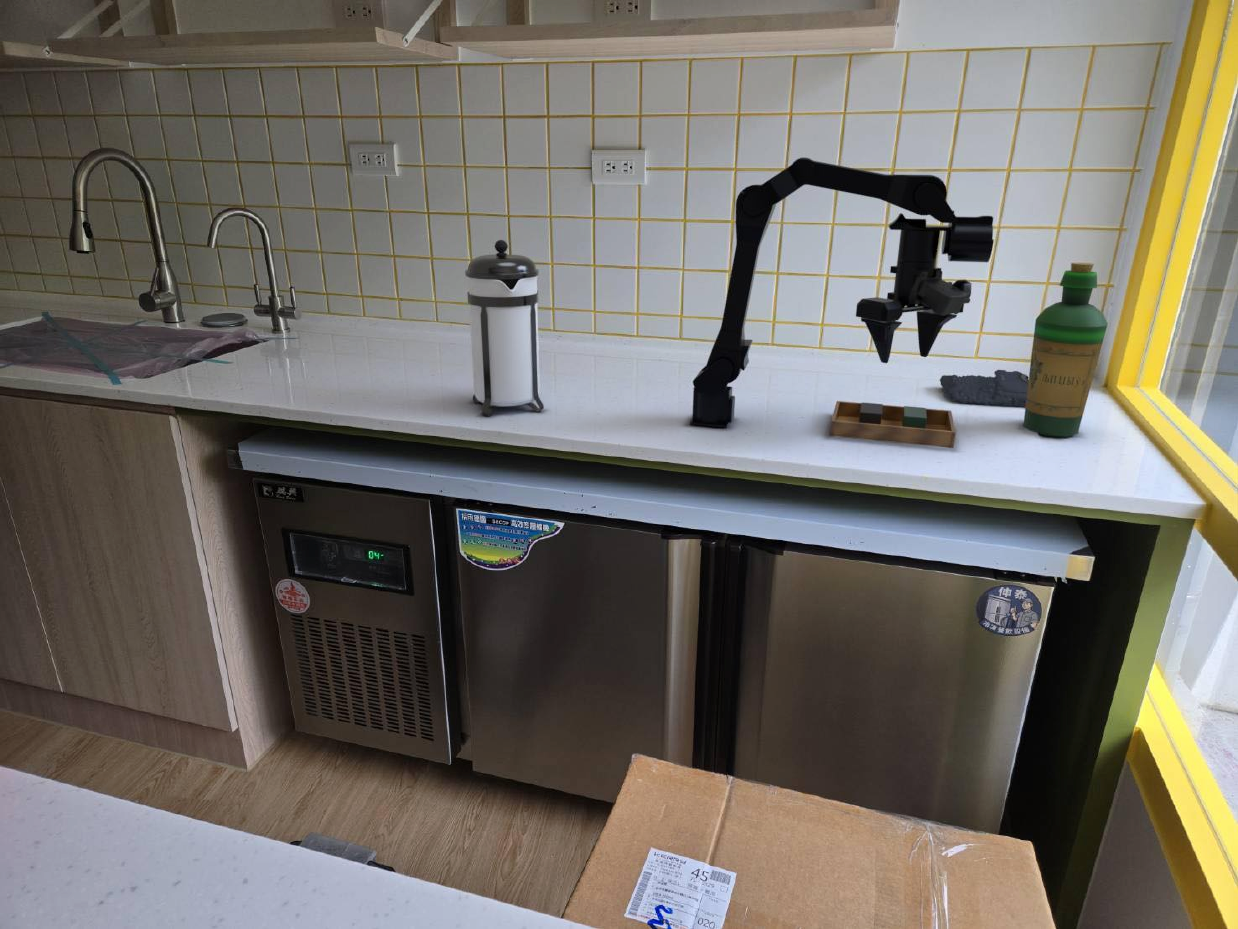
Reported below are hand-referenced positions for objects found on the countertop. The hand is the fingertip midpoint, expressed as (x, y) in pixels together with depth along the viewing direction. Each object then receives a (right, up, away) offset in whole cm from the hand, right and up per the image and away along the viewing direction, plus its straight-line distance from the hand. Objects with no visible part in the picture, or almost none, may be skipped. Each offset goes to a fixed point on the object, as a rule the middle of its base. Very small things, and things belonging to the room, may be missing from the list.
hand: (904, 359), depth 132 cm
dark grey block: (-3, -11, +7) cm, 13 cm away
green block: (+3, -11, +5) cm, 13 cm away
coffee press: (-67, -6, +21) cm, 71 cm away
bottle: (+28, -11, +8) cm, 31 cm away
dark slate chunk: (+29, -4, +30) cm, 41 cm away
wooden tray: (0, -12, +7) cm, 13 cm away
